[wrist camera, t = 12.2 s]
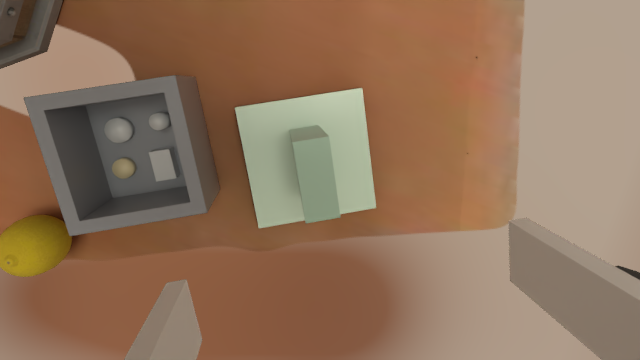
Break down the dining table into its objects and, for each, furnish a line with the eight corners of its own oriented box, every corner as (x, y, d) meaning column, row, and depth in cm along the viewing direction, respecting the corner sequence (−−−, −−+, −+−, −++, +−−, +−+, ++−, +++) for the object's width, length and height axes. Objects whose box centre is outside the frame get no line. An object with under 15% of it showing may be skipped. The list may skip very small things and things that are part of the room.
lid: (236, 106, 41) (221, 114, 30) (358, 87, 42) (385, 89, 31) (259, 222, 44) (253, 266, 33) (371, 202, 45) (400, 239, 34)
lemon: (24, 208, 41) (-36, 237, 33) (78, 201, 41) (32, 229, 34) (38, 256, 42) (-15, 295, 35) (91, 249, 43) (50, 286, 35)
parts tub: (74, 94, 39) (23, 97, 31) (195, 76, 40) (175, 75, 32) (108, 208, 42) (69, 236, 34) (220, 189, 43) (207, 212, 35)
